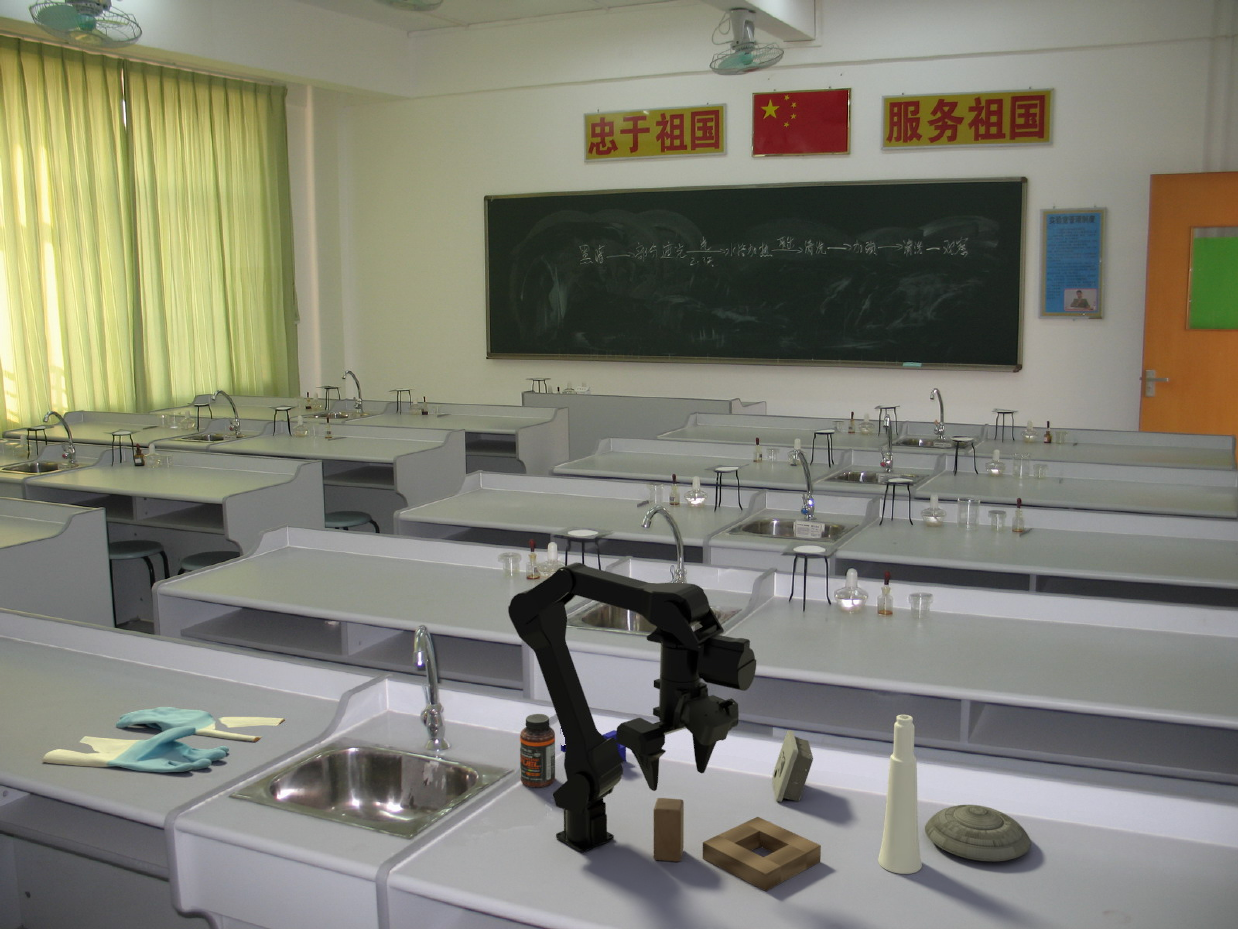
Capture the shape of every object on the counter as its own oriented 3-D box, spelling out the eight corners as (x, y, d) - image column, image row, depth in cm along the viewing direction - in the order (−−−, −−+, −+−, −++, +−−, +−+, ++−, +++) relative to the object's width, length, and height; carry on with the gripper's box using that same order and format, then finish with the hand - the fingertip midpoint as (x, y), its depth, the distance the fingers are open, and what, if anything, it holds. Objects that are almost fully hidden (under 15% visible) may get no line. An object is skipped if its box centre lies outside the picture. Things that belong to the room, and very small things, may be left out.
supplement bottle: (514, 786, 179) (513, 721, 178) (529, 772, 185) (528, 709, 183) (546, 791, 177) (545, 726, 175) (561, 776, 183) (560, 713, 181)
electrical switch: (771, 779, 181) (777, 727, 180) (801, 782, 181) (808, 731, 180) (775, 804, 172) (782, 749, 171) (807, 808, 172) (814, 753, 170)
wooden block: (680, 863, 153) (680, 810, 152) (653, 861, 154) (653, 808, 153) (683, 849, 157) (683, 798, 156) (657, 847, 158) (657, 796, 157)
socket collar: (702, 858, 155) (702, 842, 154) (757, 832, 162) (757, 816, 162) (765, 891, 146) (765, 874, 145) (820, 861, 153) (820, 845, 153)
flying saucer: (913, 820, 167) (915, 787, 166) (1010, 821, 166) (1012, 787, 165) (939, 869, 152) (941, 833, 151) (1046, 870, 151) (1047, 834, 151)
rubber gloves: (139, 710, 216) (137, 680, 215) (286, 722, 210) (285, 691, 209) (41, 765, 190) (38, 731, 189) (206, 781, 183) (204, 745, 182)
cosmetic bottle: (896, 878, 149) (901, 728, 146) (869, 858, 154) (873, 713, 151) (930, 869, 151) (936, 721, 148) (903, 850, 157) (908, 707, 154)
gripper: (670, 707, 136) (667, 822, 138) (768, 677, 148) (764, 783, 150) (614, 683, 145) (612, 791, 147) (712, 656, 156) (709, 757, 159)
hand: (677, 781), depth 150 cm, fingers open, 9 cm apart
